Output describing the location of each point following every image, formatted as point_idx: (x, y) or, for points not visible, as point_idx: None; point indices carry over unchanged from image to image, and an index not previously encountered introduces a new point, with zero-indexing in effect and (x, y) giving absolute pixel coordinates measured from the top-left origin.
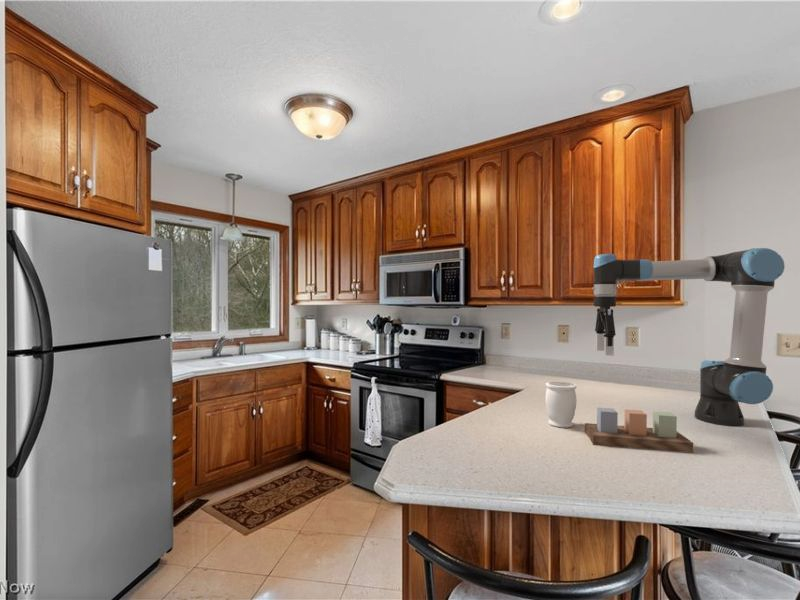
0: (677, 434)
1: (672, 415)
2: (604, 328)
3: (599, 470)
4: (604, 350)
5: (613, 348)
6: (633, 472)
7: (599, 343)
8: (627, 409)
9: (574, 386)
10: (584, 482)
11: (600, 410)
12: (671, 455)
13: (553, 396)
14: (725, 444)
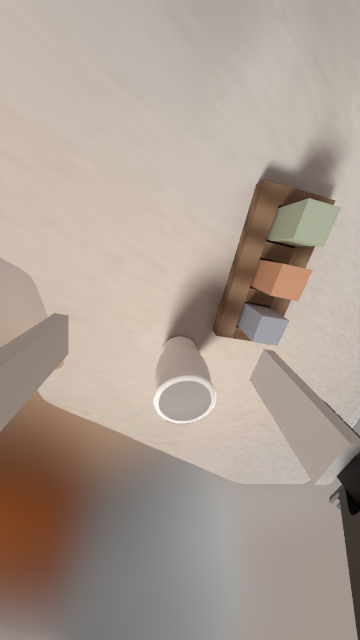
0: (291, 197)
1: (333, 213)
2: (357, 614)
3: (333, 359)
4: (66, 316)
5: (296, 375)
6: (347, 329)
7: (40, 370)
8: (272, 290)
9: (207, 383)
10: (350, 380)
11: (271, 343)
12: (320, 250)
13: (200, 399)
14: (301, 78)
